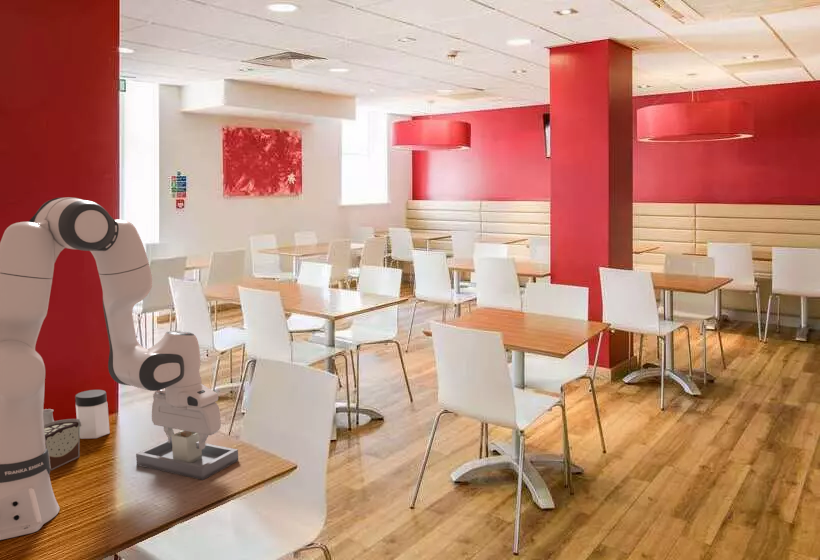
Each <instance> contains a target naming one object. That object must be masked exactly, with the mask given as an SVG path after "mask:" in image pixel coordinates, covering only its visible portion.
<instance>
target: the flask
mask: <svg viewBox="0 0 820 560" xmlns="http://www.w3.org/2000/svg"><path fill="white" fill-rule="evenodd" d="M53 412H54V409H51V408H48V409H47V408H45V409H43V421H44V425H45V424H47V423H50V422H54V421H55V420H54V414H53Z"/></svg>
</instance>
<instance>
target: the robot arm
mask: <svg viewBox="0 0 820 560" xmlns="http://www.w3.org/2000/svg"><path fill="white" fill-rule="evenodd" d="M64 249H70V250H79V251H85V252H90V253H91V255H92V256H93V258H94V260H95V264H96V267H97V268H96V269H97V272H98V276H99V280H100V285H101V289H102V308H103V315H104V320H105V328H106V333H107V338H108V346H109V351H108V352H109V354H108V362H107V363H108V364H107V369H108V370H107V371H108V373H109V375H110V377H111V378H112V380H113V381H114V382H116V383H117V384H120V385H123V386H131V387H134V388H138V389H140V390H141V389H142V390H146V391H150V392H152V391H153V392H154V393H153V394H152V397H153V400H152V405H151V421H152V423H153V425H154V426H159V427H163V431H164V433H165V435H166V437H167V440H168V443H171V444H172V435H174V434H175V432H174V430H179V431H183V430H184V431H189V432H194V433H198V434H199V437H201V438H200V440H199V442H196V448H197V449H200V450H202V449H204V448H205V443H206V442H207V439H208V438H209V436H213V435H214V434H216V433H218V432H219V431H220V430H221V424H222V423H221V411H220V406H219V405H218V403H217V402H218V400H219V394H218V393H217V392H216V391H214V390H212V389H211V388H209V387H208V386H206V385H204V384H202V377H201V374H200V373H201V372H200V368H201V352H200V345H199V341H198V338H197V336H196V335H195V334H194V333H192V332H189V331H181V330H169V331H166V332H165V333H164V335H163V337H162V338H161V339H160V340H159V341H158V342H157V343H155V344H154V345H153V346H151V347H149V348H146V347H144V346H143V345H141V343H139V342H138V341H139V340H137V336H136V329H135V323H134V315H133V309H134V307H135V305H136V304H139V303H140V302H141V301H143V300H144V299H145V298H146V297H147V296H148V294H149V293H150V292H151V290H152V287H153V277H152V276H153V275H152V270H151V266H150V262H149V259H148V255H147V253H146V249H145V245H144V244H143V241H142V239H141V237H140V234H139V232H138V230H137V228H136V226H134V224H132V223H131V221H130V222H129V221H127V220H123V219H114V218H113V217H112V216H111V215H110V213H109V212H108V211H107V210H106V209H105V208H104V207H103V206H102V205H100V204H98V203H97V202H95V201H92V200H86V199H82V198H78V197H71V196H70V197H69V196H68V197H55V198H52V199H49V200H47V201H45V202H44V203H43V204H42V205H41V206H40V207H39V209H38V210H37V211H36V212H35V214H34V215H33V216H32V217H31V218H30V219H29V220H28V221H20V222H19V221H18V222H15V223H12V224H10V225H9V226H8V227H6V229H5V230H4V232H3V234H2V237H1V240H0V541H2V540H7V539H12V538H17V537H19V536H24V535H29V534H33V533H35V532H38V531H40V529H41V528H42V527H43V525H44V524H46V523H48V522H50V521H51V520H52V519H53V518H55V517H56V516H57V515H58V513H59V512H60V506H59V504H58V501H57V499H56V496H55V493H54V489H53V487H52V482H51V477H50V476H51V475H50V474H51V471H50V457H49V452H48V449H46V445H45V433H44V421H43V410H44V404H45V391H46V390H45V387H46V386H45V383H46V380H45V379H46V365H45V363H44V359H43V357H42V356H41V354H40V353H39V352H38V351H37V350H36V346H37V345H36V344H37V341H38V337H39V335H40V332H41V328H42V325H43V323H44V320H45V319H46V317H47V315H48V309H49V304H50V296H51V290H52V285H53V278H54V270H55V263H56V261H57V259H58V257H59V255H60V253H61V252H63V250H64Z"/></svg>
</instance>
